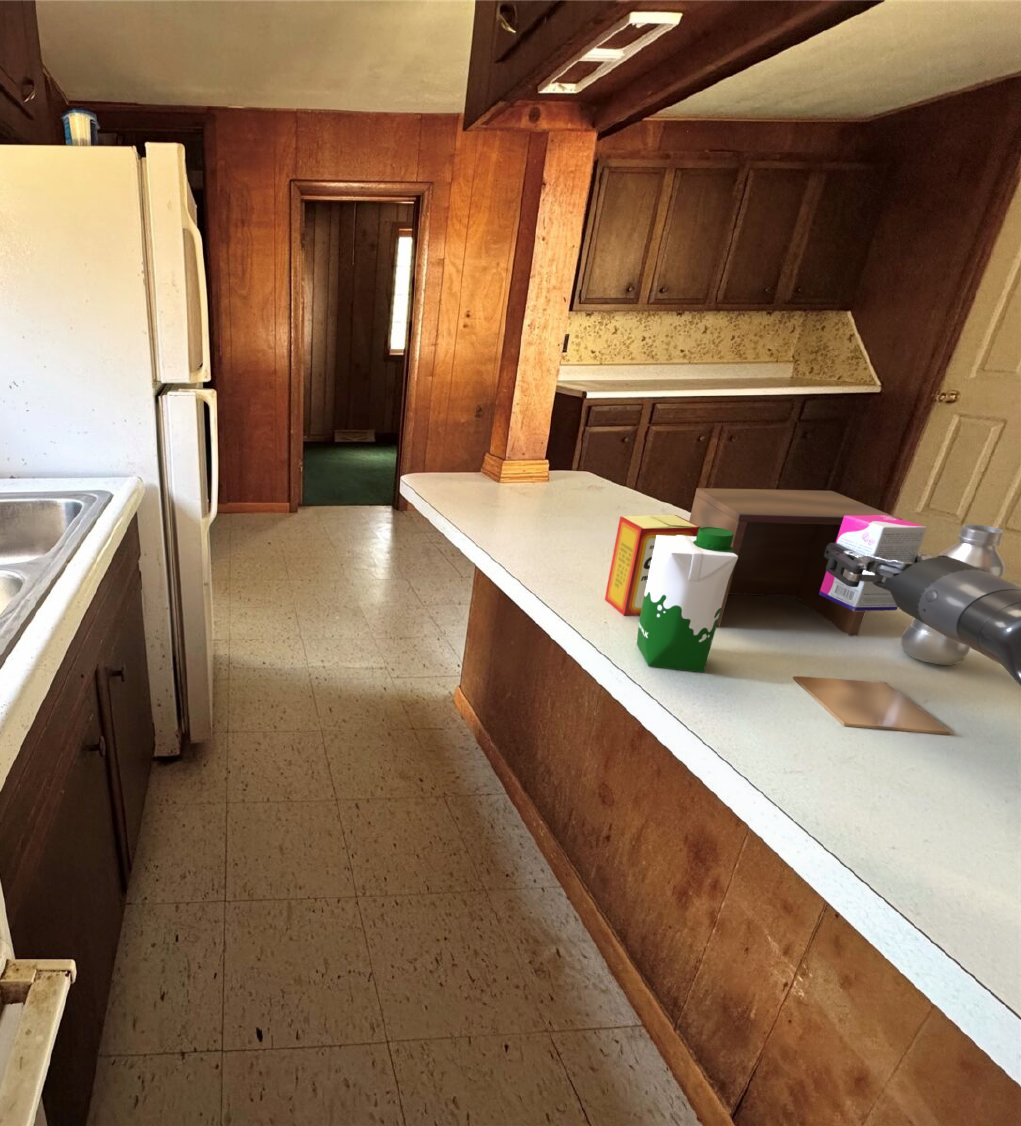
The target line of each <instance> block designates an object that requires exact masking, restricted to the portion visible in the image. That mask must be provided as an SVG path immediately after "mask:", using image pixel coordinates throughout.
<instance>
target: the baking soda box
mask: <svg viewBox="0 0 1021 1126" xmlns="http://www.w3.org/2000/svg"><path fill="white" fill-rule="evenodd" d="M700 528H701V527H700V526H698V525H696V524H694V523H691V522H689V520H688V519H685V518H683V517H681V516H679V515H677V514H650V515H630V516H629V515H628V516H627V515H625V516H620V517H619V521H618V526H617V532H616V536H615V537H616V538H615V542H614V548H613V553H612V558H611V564H610V569H609V574H608V580H607V584H606V590H605V596H604V601H606V602H607V603H608V604H610V606H611V607H612V608H614V609H615V610H616V611H618V612H619V614H620V615H622V616H626V617H627V616H640V613H641V609H642V604H643V599H644V594H645V589H646V584H647V580H648V575H649V570H650V565H651V561H652V556H653V551H654V546H655V541H656V536H657V535H665V536H676V535H684V536H694V537H697V534H698V530H699V529H700Z"/></svg>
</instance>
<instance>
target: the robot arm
mask: <svg viewBox="0 0 1021 1126" xmlns="http://www.w3.org/2000/svg"><path fill="white" fill-rule="evenodd" d="M937 556H938V555H937ZM937 556H936V557H935V556H931V554H928V553H925V552H924V553H923V552H921V553H920V552H918V554H917V557H916V559H915V562H911V561H907V560H904V559H897V560H896V559H892V558H889V557H885V556H881V555H878V554H867V555H863V554H859V553H856V552H853V551H851V550H849V549H847V548H845V547H844V546H842V545H840V544H838V543H829V544H828V546H827V547H826V550H825V553H824V557H825V558H827V559H828V563H827V567H826V571H827V572H828V573H830V574H831V575H833V576H834V577H835V578H837V579H838V580H840V581H841V582H842V583H844V584H845V585H847V586H850V587H858V586H859V583H860V581H864V582H867V583H870V584H873V585H876V586H878V587H880V588H882V589H883V590H886V591H889V592H890V593H891V594H892V597H893V599H894V601H895V603H896V605H897V606H898V609H899V610H901V611H902V612H904V613H905V614H906V615H908V616H910V617H912V618H913V619H914V618H916V619H917V620H919V621H921V622H922V623H924V624H926V625H928V626H929V627H931V628H933V629H934V630H936V631H938V632H940V633H941V634H943V635H945V636H946V637H948V638H950V639H952V640H955V641H957V642H960V643H962V644H965V645H967V646H969V647H970V649H972V650H974V651H975V652H978V653H980V654H981V655H983V656H985V657H986V658H987V659H990V660H991V661H993V662H995V663H997V664H999V665H1001V667H1003V669H1005V671H1006V672H1007V673H1008V674H1009V676H1010V677H1011V678H1012V679H1013V680H1014V681H1015V682H1016V683H1017V684H1018V685H1019V686H1020V687H1021V587H1020V586H1019V585H1017V584H1014V583H1013V582H1011V581H1008V580H1006V579H1004V578H1002V577H1001V578H1000V577H997V576H995V575H993V574H990V573H989V572H987V571H985V570H982V569H979V568H977V567H974V566H972V565H970V564H967V563H965V562H963V561H960V560H958V559H954V558H951V557H948V556H944V555H943V556H938V557H937ZM854 559H857V560H860V561H861V564H858V563H856V562H855V561H854ZM875 561H877V562H880V564H879V565H878V566H877V568H876V570H875V573H873V572H872V569H873V566H874V563H875Z"/></svg>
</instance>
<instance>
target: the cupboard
mask: <svg viewBox="0 0 1021 1126" xmlns="http://www.w3.org/2000/svg"><path fill="white" fill-rule="evenodd" d="M846 515H852V516H867V515H887V516H890V517H894V518H897V519H901V520H903V519H902V518H900V517H896V516H895V515H891V514H889V513H887V512H884V511H882V510H879V509H877V508H875V507H872V506H869V505H867V504H865V503H863V502H861V501H858V500H855V499H853V498H850V497H849V496H845V495H843V494H840V493H838V492H835V491H833V490H817V489H816V490H814V489H812V490H809V489H768V488H767V489H766V488H765V489H763V488H761V489H760V488H759V489H758V488H707V487H696V490H695V495H694V498H693V502H692V507H691V512H690V516H689V520H688V521H689V522H691V523H694V524H696V525H698V526H700V527H701V528H702V527H715V528H722V529H726V530H729V531H731V532H733V533H734V536H733V540H732V544H731V547H732V549H733V551H734V552H735V554H736V555H737V556H738V559H737V561H736V563H735V566H734V568H733V570H732V573H731V575H730V577H729V580H728V584H727V587H726V591H725V595H724V599H723V603H722V606H721V610H720V614H719V618H718V622H717V626H716V628H720V626H721V623H722V618H723V615H724V611H725V607H726V605H727V599H728V596H729V595H746V596H747V595H748V596H768V597H769V596H770V597H786V598H787V597H788V598H796V599H797V600H799V601H800V602H802V603H803V604H804V605H805V606H807V607H809V608H810V609H812V610H813V611H814V612H816V613H817V614H818V615H820V616H821V617H822V618H824V619H825V620H827V621H828V622H830V624H832V625H834V626H835V627H836V628H838V629H839V630H840V631H842V633H845V634H846V635H848V636H854V637H855V636H858V635H859V631H860V629H861V627H862V623H863V620H864V619H865V615H866V612H867V611H852V610H850V609H848V608H846V607H844V606H842V605H840V604H838V603H836V602H834V601H832V600H829V599H827V598H825V597H823V596H821V595H819V593H820V590H821V587H822V584H823V581H824V578H825V574H826V567H827V563H828V559H827V558H825V557H824V553H825V550H826V547H827V546H828V544H829V543H836V540H837V537H838V534H839V531H840V528H841V525H842V521H843V518H844V516H846Z"/></svg>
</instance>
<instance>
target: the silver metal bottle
mask: <svg viewBox="0 0 1021 1126" xmlns="http://www.w3.org/2000/svg"><path fill="white" fill-rule="evenodd" d="M1003 535H1004V530H1003V529H1001V528H998V527H994V526H990V525H985V524H984V525H983V524H973V523H967V524H963V526H962V527H961V530H960V532H959V533H958V535H957V537H956V538H957V540H959V541H958V542H956V543H954V544H952V545H951V546H949V547H947V548H945V549H944V550H942V551H941V552H939V554H937V555H936V557H938V556H943V555H944V556H948V557H951V558H954V559H958V560H960V561H963V562H965V563H967V564H970V565H972V566H974V567H977V568H979V569H982V570H985V571H987V572H989V573H990V574H993V575H995V576H997V577H1000V578H1002V577H1003V576H1004V574H1005V573H1006V565H1005V562H1004V560H1003V558H1002V556H1001V555H1000V552H998V550H997V549H996V548H997V546H998V547H999V546H1000V545H1001V543H1002V538H1003ZM900 645H901V648H902V650H903V651H904V653H905V654H907V655H908V656H910V657H912V658H915V659H917V660H920V661H922V662H926V663H930V664H934V665H941V666H953V665H956V664H958V663H960V662H963V660H964V659H965V658H966V657H967V655H968V654H969V652H970V649H971V647H969V646H967V645H965V644H962V643H960V642H957V641H955V640H952V639H950V638H948V637H946V636H945V635H943V634H941V633H940V632H938V631H936V630H934V629H933V628H931V627H929V626H928V625H926V624H924V623H922V622H921V621H919V620H917V619H916V618H914V617H913V620H912V622H910V623H909V625H908V626H907V627H906V629H905V631H904V632H903V633H902V636H901V641H900Z"/></svg>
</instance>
